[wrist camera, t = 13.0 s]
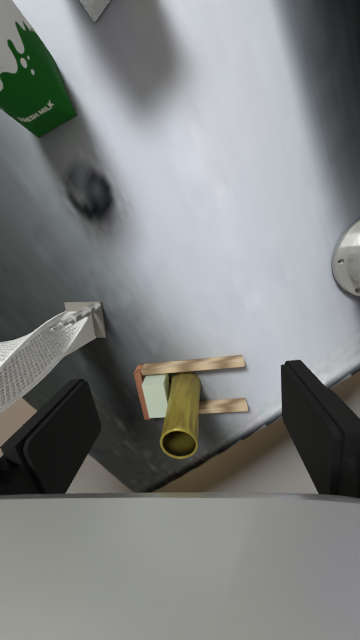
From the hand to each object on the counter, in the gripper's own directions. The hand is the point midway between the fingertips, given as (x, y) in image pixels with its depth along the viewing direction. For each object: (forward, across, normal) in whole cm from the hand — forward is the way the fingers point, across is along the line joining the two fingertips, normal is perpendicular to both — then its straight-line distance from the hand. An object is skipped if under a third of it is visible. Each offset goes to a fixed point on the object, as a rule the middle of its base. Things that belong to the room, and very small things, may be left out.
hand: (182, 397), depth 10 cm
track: (+28, +3, +18) cm, 34 cm away
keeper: (+28, +10, +18) cm, 35 cm away
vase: (+28, +4, +18) cm, 34 cm away
